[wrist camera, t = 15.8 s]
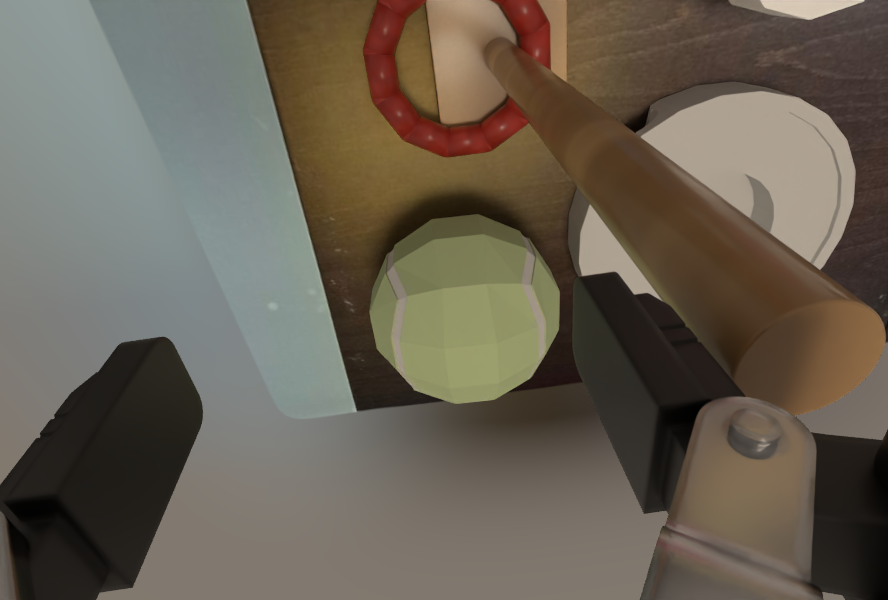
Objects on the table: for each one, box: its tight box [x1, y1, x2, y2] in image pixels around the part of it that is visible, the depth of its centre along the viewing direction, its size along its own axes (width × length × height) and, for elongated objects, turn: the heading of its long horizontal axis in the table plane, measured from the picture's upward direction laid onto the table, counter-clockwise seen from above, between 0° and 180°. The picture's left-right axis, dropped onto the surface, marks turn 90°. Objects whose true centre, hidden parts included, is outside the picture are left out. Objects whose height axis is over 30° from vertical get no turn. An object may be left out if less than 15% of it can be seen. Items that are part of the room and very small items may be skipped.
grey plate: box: [568, 81, 855, 301], centre depth 46 cm, size 23×23×4 cm
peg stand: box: [425, 0, 886, 415], centre depth 24 cm, size 10×10×38 cm
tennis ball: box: [369, 214, 560, 404], centre depth 43 cm, size 15×15×15 cm
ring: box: [363, 0, 551, 157], centre depth 38 cm, size 13×13×2 cm
